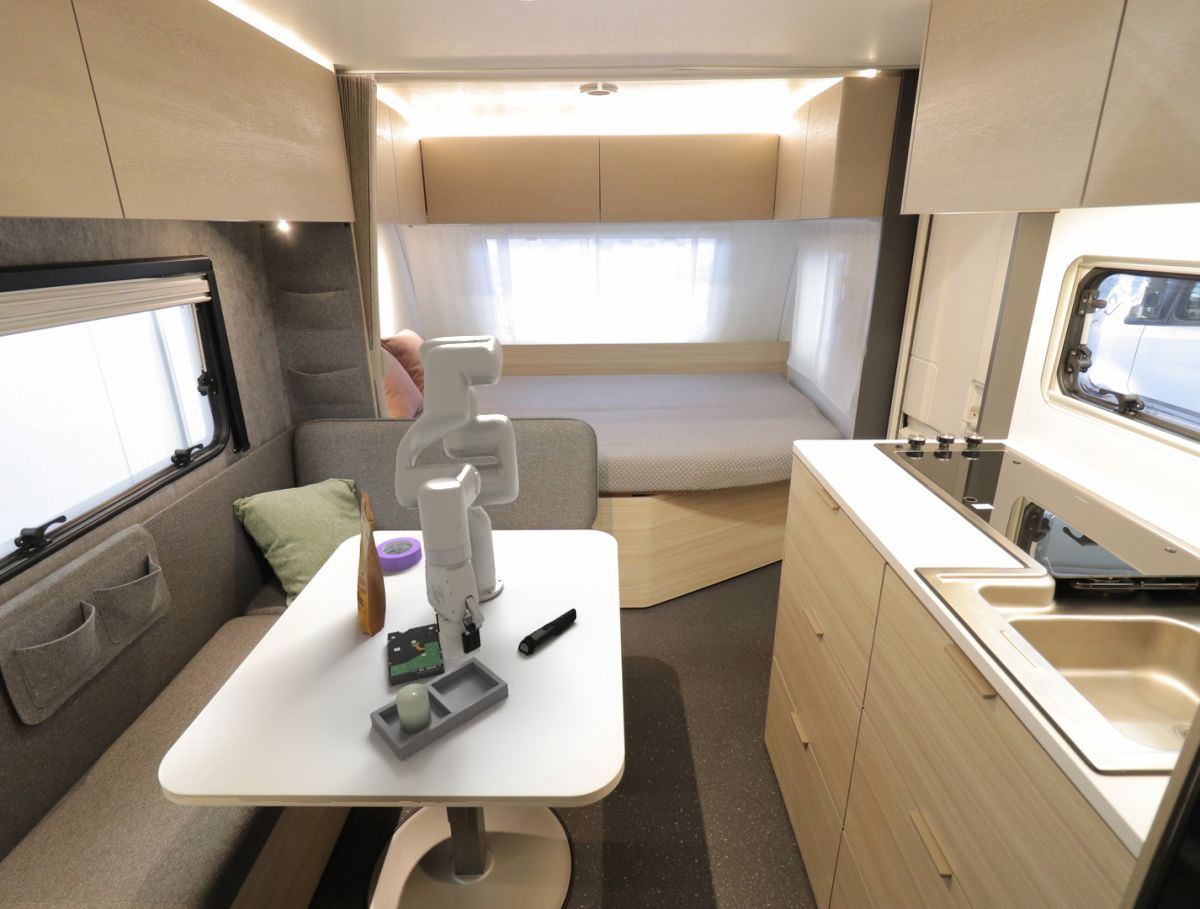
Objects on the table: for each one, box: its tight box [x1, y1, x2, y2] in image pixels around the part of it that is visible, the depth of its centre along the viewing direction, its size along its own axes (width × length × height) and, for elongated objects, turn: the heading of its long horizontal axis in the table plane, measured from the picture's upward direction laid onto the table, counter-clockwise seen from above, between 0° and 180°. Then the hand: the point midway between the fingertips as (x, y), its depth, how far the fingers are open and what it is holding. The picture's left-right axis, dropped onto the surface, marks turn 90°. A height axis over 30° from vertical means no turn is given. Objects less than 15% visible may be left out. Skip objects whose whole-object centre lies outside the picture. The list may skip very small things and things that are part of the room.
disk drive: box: [387, 622, 445, 687], centre depth 122 cm, size 10×3×15 cm
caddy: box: [369, 656, 509, 762], centre depth 108 cm, size 21×11×3 cm, turn 134°
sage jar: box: [395, 683, 432, 734], centre depth 104 cm, size 5×5×6 cm
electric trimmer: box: [517, 608, 577, 657], centre depth 128 cm, size 4×16×3 cm, turn 139°
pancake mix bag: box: [356, 488, 387, 638], centre depth 132 cm, size 7×19×28 cm, turn 18°
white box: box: [437, 609, 480, 661], centre depth 106 cm, size 6×6×7 cm
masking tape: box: [376, 536, 423, 571], centre depth 161 cm, size 12×12×4 cm
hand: (459, 639), depth 107 cm, fingers closed on white box, 7 cm apart
